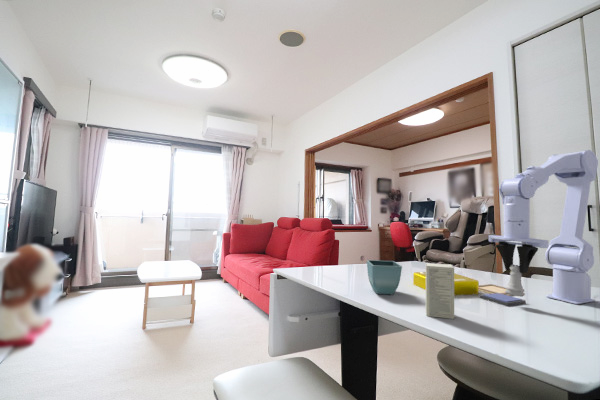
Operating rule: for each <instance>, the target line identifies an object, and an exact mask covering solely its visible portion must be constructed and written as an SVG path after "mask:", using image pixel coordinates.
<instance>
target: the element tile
mask: <svg viewBox="0 0 600 400" xmlns="http://www.w3.org/2000/svg"><path fill="white" fill-rule="evenodd" d="M412 277H413V278H412V281H413V282H412V283H413V284H412V285H414V286H415V287H418V288H420V289H423V290H425V291H426V270H425V271H417V272H416V271H415V272H413V276H412ZM479 282H480V281H479V280H477V279H474V278H471V277H468V276H464V275H461V274H458V273H455V272H454V296H469V295H470V296H471V295H474V296H475V295H479V292H480V291H479V284H480V283H479Z"/></svg>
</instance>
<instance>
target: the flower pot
mask: <svg viewBox="0 0 600 400" xmlns="http://www.w3.org/2000/svg"><path fill="white" fill-rule="evenodd" d="M366 267H367V268H366V269H367V277H368V282H369V283H370V286H371V288H372V290H373V291H374V293H375V294H378V295H394V294H395V293H396V291H397V289H398V288H399V285H400V281H401V276H402V270H403V266H402V265H400V264H399V263H398V262H396V261H394V260H377V259H376V260H373V259H370V260H369V259H368V260H366Z"/></svg>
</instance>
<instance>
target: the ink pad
mask: <svg viewBox="0 0 600 400" xmlns="http://www.w3.org/2000/svg"><path fill="white" fill-rule="evenodd" d="M479 299H482V300H484V301H485V300H486V301H488V300H489V302H492V303H495V304H499V305H502V306H505V307H511V306H518V305H523V304H524V305H525V304H526V300H525V299H522V298H520V297H516V296H515V297H514V296H508V295H504V294H500V293H493V294H488V293H485V294H480V295H479ZM517 304H518V305H517Z"/></svg>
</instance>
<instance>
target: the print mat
mask: <svg viewBox="0 0 600 400" xmlns="http://www.w3.org/2000/svg"><path fill="white" fill-rule="evenodd" d="M505 291H506V288H505V287H503V286H501V285H500V286H499V285H496V284H490V283H489V284H488V283H487V284H481V285H479V292H482V293H485V294H493V293H500V294H504V295H508V296H512V297H514V296H513V295H509V294H507V293H506V292H505ZM523 294H524V295H525V291H524V292H523Z"/></svg>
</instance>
